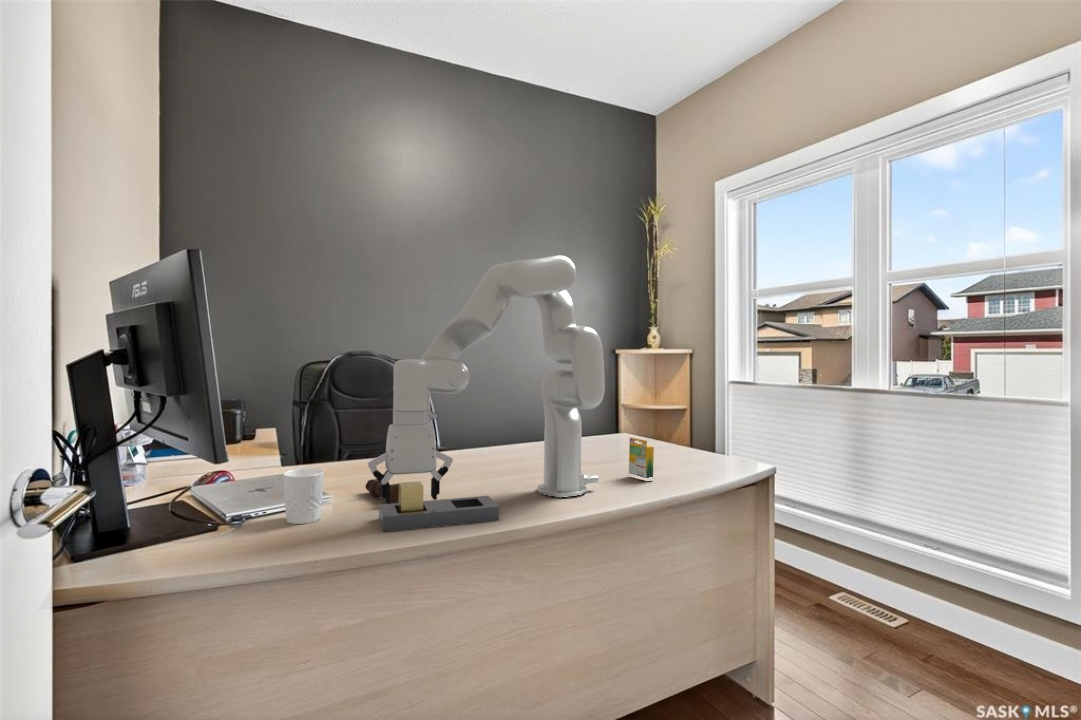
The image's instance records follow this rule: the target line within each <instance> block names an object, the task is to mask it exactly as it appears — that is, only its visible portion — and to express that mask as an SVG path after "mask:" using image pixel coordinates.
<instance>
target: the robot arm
mask: <svg viewBox="0 0 1081 720" xmlns="http://www.w3.org/2000/svg"><path fill="white" fill-rule="evenodd" d="M576 278H577V269H576V266H575V264H574V263H573V261H572V259H570V257H567V256H565V255H562V254H558V255H557V254H555V255H550V256H545V257H539V258H538V257H537V258H532V259H523V260H522V259H521V260H520V259H519V260H513V261H509V262H501V263H498V264H495V265H493V266H491V267H489V268H488V270H487V271H486V272H485V274H483V277H482V278H481V280H480V282H479V283H478V285H477V286H476V287H475V290H474V291H473V292H472V293H471V296H470V298H469V299H468V301H467V302H466V304H465V305H464V306H463V308H462V309H461V311H460V313H459V314H458V315H456V316H455V318H453V319H452V320H451V321H450V322H449V324H447V325H445V327H444V328H442V330H440V332H438V334H437V335H436V336H435V337H434V338H433V340H432V341H431V342H430V344H429V345H428V346H427V347H426V350H425V351H424V353H423V355H422V356H421V358H420V359H411V358H410V359H406V358H405V359H398V360H397V361H395V362H394V365H393V391H392V392H393V399H392V400H393V402H392V403H393V405H392V408H393V409H392V423H391V424H389V425H388V429H387V434H386V443H385V444H386V445H385V453H382V454H381V455H378V456H377V457H375V458H373V459H371V460H370V461H368V462H367V466H368V468H369V470H370V472H371V473H372V475H373V477H375V479H378V480H379V481H380V482H381V483H382V497H381V499H382V500H384V499H385V500H384V502H385V504H389V503H390V485H391V484H390V482H389V481H390V480H391V479H392V477H393V476H394V475H410V474H411V475H412V474H425V473H426V474H428V473H430V474H431V475H432V477H431V479H430V481H431V482H430V496H431V498H432V500H438V495H440V492H441V491H440V486H441V485H440V484H441V483H440V481H441V480H442V478H443V477H444V476H445V475H446V474H447V473H448V471H449V468H450V467H451V465H452V463H453V461H454V460H453V457H451V456H450V455H447V454H445V453H443V452H440V451H438V450H437V443H436V442H437V441H436V435H435V429H434V424H433V423H431V421H432V420H434V419H435V420H436V419H438V413H437V412H435V411H432V409H431V393H438V394H448V395H449V394H450V395H452V394H453V395H454V394H458V393H459V392H461V391H463V390H464V389H465V388H466V387H467V386H468V384H469V382H470V375H471V374H470V371H469V368H468V367H467V366H466V365H465V363H463V362H462V361H460V360H457V359H458V358H459V356H461V354H462V353H463V352H465V351H466V350H467V349H468V348H470V347H471V346H473V345H476V344H477V343H479V342H481V341H483V340H484V339H486V338H488V337H489V336H490V335H492V334H493V333H494V331H495V330H496V328H497V326H498V325H499V323H500V322H501V320H502V319H503V316H504V315H505V313H506V311H507V310H508V308H509V306H510V305H511V303H512V302H513V300H521V299H529V298H533V300H534V301H536V303H537V305H538V308H539V310H540V317H541V324H542V327H541V328H542V338H543V348H544V349H543V350H544V355H545V357H546V358H547V360H548V361H550V362H551V363H555V364H559V365H571V367H572V368H557V369H552V370H550V371H549V372H548V373H546V374H545V375H544V377H543V378H542V382H541V388H540V391H541V399H542V403H543V411H544V433H543V434H544V437H543V438H544V440H543V441H544V443H543V444H544V445H543V446H544V447H543V452H544V453H543V482H542V483H539V484H538V485H537V492H538V493H539V494H541V495H543V496H546V495H548V496H547V497H551V496H555V497H554V498H562V497H564V496H574V495H579V494H582V493H584V492H586V493H587V487H586V485H588V484H598V482H599V476H598V475H595V474H594V475H589V474H583V473H582V432H583V431H582V428H583V427H582V426H583V425H582V419H581V414H580V411H579V409H582V410H593V409H595V408H597V407H598V406H599V405H600V404H601V402H602V401H603V399H604V397H605V390H606V389H605V388H606V383H605V381H606V379H605V378H606V377H605V366H604V365H605V364H604V363H605V362H604V350H603V344H602V340H601V337H600V336H599V334H598V332H597V331H596V330H595V329H594V328H592V327H589V326H586V325H577V322H576V321H577V320H576V314H575V313H576V312H575V306H574V303H573V299H572V297H571V296H570V295H571V294H569V292H568V290H569V289H570V288H571V287H572V286H573V284H574V283H575V281H576ZM437 459H439V460H441V461H443V465H442V466H441V467H440V468H439V469H438V470H437ZM384 462H385V468H386V470H385V472H383V473H382V472H381V471H379V469H378V465H380V464H382V463H384Z"/></svg>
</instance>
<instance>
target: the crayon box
mask: <svg viewBox="0 0 1081 720" xmlns="http://www.w3.org/2000/svg"><path fill="white" fill-rule="evenodd" d="M637 442H639V443H637ZM640 442H641V443H640ZM647 443H648V440H645V439H639V438H635V437H629V448H628V449H629V450H628V451H629V453H628V456H629V457H628V474H629V473H630V474H633V475H637V476H640V477H643V478H649V477H653V478H654V459H655V457H654V453H655V447H654V446H651V445H648V444H647Z"/></svg>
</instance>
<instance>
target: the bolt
mask: <svg viewBox="0 0 1081 720" xmlns="http://www.w3.org/2000/svg"><path fill="white" fill-rule="evenodd" d="M399 483H400V482H398V483H393V484H390V503H389V504H394V503H398V498H399ZM365 489H366V491H367V492H369V494H370V496H371V497H372V498H373V499H380V498H382V483H381V482H380V481H379V480H378V479H377V478H375V479H368V481H366V483H365ZM383 500H384V501H385V499H383Z"/></svg>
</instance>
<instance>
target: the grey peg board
mask: <svg viewBox="0 0 1081 720" xmlns="http://www.w3.org/2000/svg"><path fill="white" fill-rule="evenodd" d="M378 507H379V508H378V520H379V523H380V527H381V531H382V530H383V531H382V533H386V532H385V531H389V532H395V531H394V530H399V531H405V530H404V529H409V530H414V529H413V528H419V529H425V528H424V527H429V528H434V527H433V526H439V527H445V526H444V525H449V526H457V525H459V526H460V525H465V524H466V525H468V524H478V523H485V522H496V521H497V520H498V521H500V505H499V504H498V503H497V502H495V501H494V500H493V498H491V496H490V495H480V496H479V495H478V496H468V497H457V498H456V497H455V498H444V499H437V500H434V499H429V500H423V511H420V512H409V513H398V503H394V504H386V503H383V504H379V506H378Z"/></svg>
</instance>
